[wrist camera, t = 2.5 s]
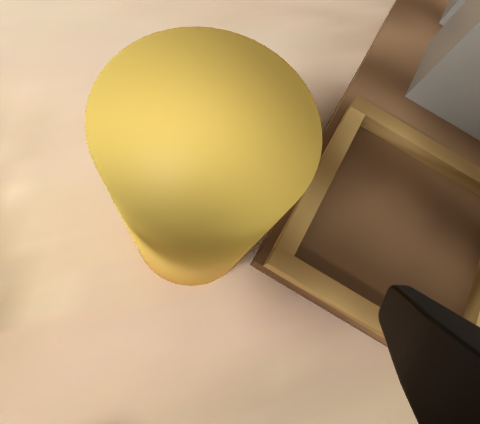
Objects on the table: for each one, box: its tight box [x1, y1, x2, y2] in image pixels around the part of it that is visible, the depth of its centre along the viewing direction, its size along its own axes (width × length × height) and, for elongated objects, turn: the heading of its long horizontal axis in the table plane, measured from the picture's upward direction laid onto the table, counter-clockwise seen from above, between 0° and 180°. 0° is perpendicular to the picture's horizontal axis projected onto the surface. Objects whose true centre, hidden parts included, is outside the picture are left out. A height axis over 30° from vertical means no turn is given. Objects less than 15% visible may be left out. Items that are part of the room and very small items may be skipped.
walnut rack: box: [250, 0, 480, 347], centre depth 23 cm, size 30×13×2 cm, turn 151°
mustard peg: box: [85, 27, 322, 286], centre depth 14 cm, size 6×6×11 cm
